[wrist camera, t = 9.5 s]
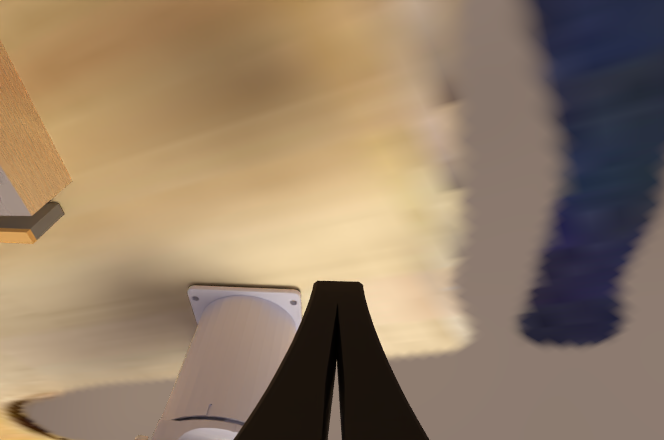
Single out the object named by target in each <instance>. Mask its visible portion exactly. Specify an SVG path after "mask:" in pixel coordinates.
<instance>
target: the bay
mask: <svg viewBox="0 0 664 440" xmlns="http://www.w3.org/2000/svg"><path fill="white" fill-rule="evenodd" d="M63 215H64V213H63V211H62V209H61V207H60V205H59V203H46V204H45V205H44V206H43V207H42V208H40V209H39V210H38V211H37V212H36V213H35V214H33V215H32V216H0V242H3V243H28V244H33V243H35V242H36V241H37V240H38V239H39V238H40V237H41V236H42V235H43V234H44V233H45V232H46V231H47V230H48V229H49V228H50V227H51V226H52V225H53V224H54V223H55V222H56V221H57V220H59V219H60V218H61V217H62V216H63Z"/></svg>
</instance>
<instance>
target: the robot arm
mask: <svg viewBox="0 0 664 440" xmlns="http://www.w3.org/2000/svg"><path fill="white" fill-rule="evenodd" d="M187 294H188V297H189V300H190V303H191V306H192V309H193V313H194V316H195V319H196V322H197V325H198V326H197V328H196V331H195V333H194V336H193V339H192V341H191V344H190V346H189V349H188V351H187V354H186V356H185V359H184V361H183V364H182V367H181V369H180V372H179V374H178V377H177V379H176V382H175V385H174V387H173V390H172V392H171V395H170V397H169V400H168V402H167V405H166V408H165V410H164V412H163V415H162V417H161V419H159V421H158V424H157V426H156V429H155V431H154V434H153V436H152V439H151V440H328V431H329V422H330V413H331V405H332V397H333V388H334V380H335V371H336V362H337V369H338V384H339V401H340V416H341V432H342V440H429V438H428V437H427V435H426V433H425V431H424V430H423V428H422V426H421V425H420V423H419V421H418V420H417V418H416V416H415V414H414V412H413V410H412V408H411V407H410V405H409V403H408V401H407V399H406V397H405V395H404V394H403V392H402V390H401V388H400V386H399V384H398V382H397V379H396V377H395V375H394V373H393V371H392V369H391V367H390V365H389V362H388V360H387V358H386V355H385V353H384V351H383V348H382V346H381V343H380V341H379V338H378V336H377V333H376V331H375V328H374V325H373V322H372V319H371V316H370V313H369V310H368V307H367V303H366V299H365V295H364V290H363V285H362V284H361V283H360V282H344V281H317V282H315V283H314V285H313V290H312V293H311V296H310V300H309V303H308V305H307V308H306V311H305V313H304V316H303V318H302V307H301V293H300V292H299V291H297V290H294V289H270V288H246V287H222V286H198V285H193V286H190V287H189V289H188V291H187ZM292 300H294V301H292ZM134 440H148V436H143V435H138V436H137V437H136V438H135V439H134Z"/></svg>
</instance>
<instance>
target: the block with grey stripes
mask: <svg viewBox="0 0 664 440" xmlns="http://www.w3.org/2000/svg"><path fill="white" fill-rule="evenodd" d="M71 182H72V179H71V177H70V175H69V173H68V171H67V169H66V168H65V166H64V164H63V162H62V160H61V158H60V156H59V154H58V152H57V150H56V148H55V146H54V144H53V142H52V140H51V138H50V136H49V134H48V132H47V130H46V128H45V126H44V124H43V122H42V121H41V119H40V117H39V115H38V113H37V111H36V109H35V107H34V105H33V103H32V101H31V99H30V97H29V95H28V93H27V91H26V89H25V87H24V85H23V83H22V81H21V79H20V77H19V76H18V74H17V72H16V70H15V68H14V66H13V64H12V62H11V60H10V58H9V56H8V54H7V52H6V50H5V48H4V46H3V44H2V42H1V40H0V216H32V215H33V214H35V213H36V212H37V211H38V210H39V209H40V208H42V207H43V206H44V205H45V204H46V203H47V202H49V201H50V200H51V199H52V198H53V197H54V196H56V195H57V194H58V193H59V192H60V191H61V190H63V189H64V188H65V187H66V186H67V185H68V184H70V183H71Z"/></svg>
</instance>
